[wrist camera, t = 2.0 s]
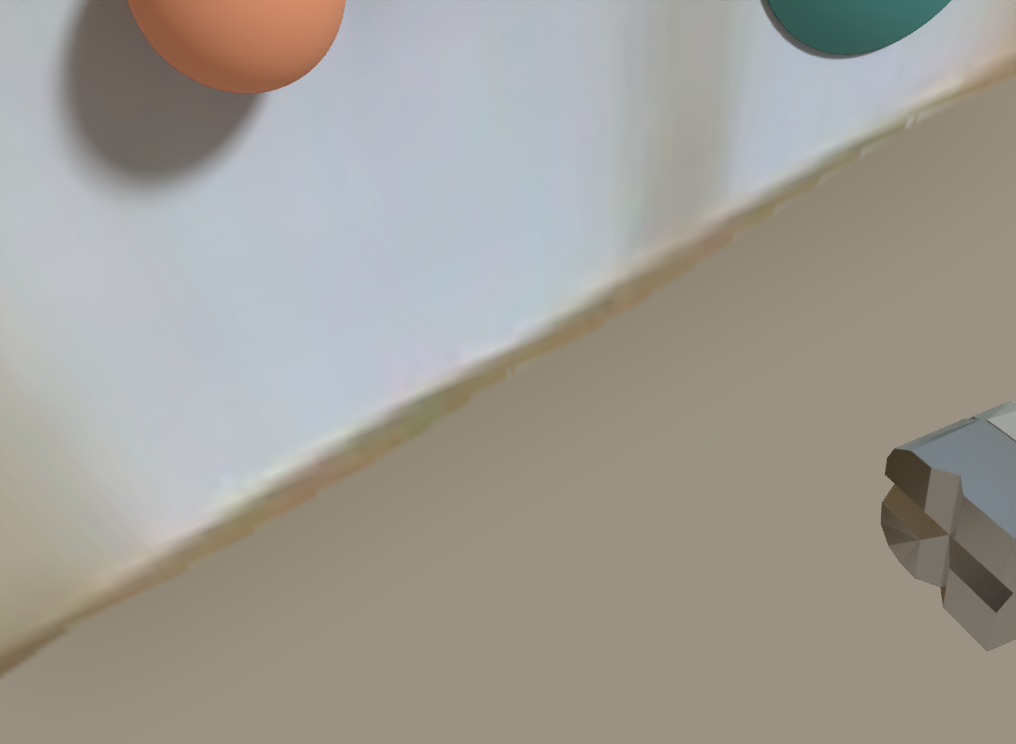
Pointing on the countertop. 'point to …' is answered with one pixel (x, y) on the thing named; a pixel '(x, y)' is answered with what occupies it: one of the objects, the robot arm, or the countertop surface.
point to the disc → (854, 22)
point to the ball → (240, 39)
